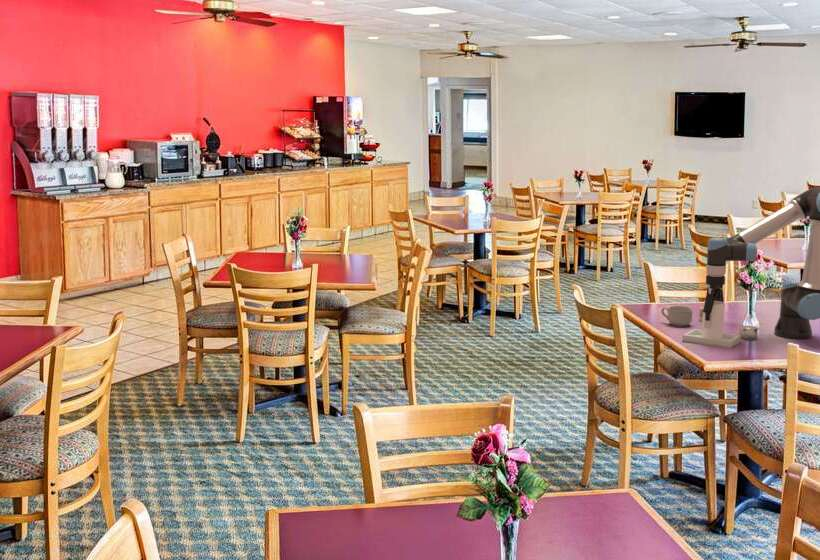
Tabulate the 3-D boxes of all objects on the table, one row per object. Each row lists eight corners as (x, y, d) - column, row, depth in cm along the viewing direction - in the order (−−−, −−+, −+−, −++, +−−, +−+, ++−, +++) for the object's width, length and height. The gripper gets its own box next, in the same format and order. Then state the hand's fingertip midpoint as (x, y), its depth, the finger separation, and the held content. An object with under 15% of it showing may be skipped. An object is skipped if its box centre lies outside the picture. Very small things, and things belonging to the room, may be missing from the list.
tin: (758, 338, 398) (759, 326, 397) (754, 341, 392) (755, 329, 391) (742, 336, 402) (742, 324, 401) (737, 339, 396) (738, 327, 395)
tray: (740, 341, 391) (740, 335, 391) (730, 348, 380) (731, 341, 379) (693, 335, 402) (693, 328, 402) (682, 341, 391) (682, 335, 391)
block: (710, 320, 433) (711, 307, 432) (710, 322, 428) (711, 309, 427) (699, 319, 434) (700, 306, 433) (699, 321, 430) (699, 308, 429)
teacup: (696, 325, 422) (697, 308, 420) (684, 329, 414) (685, 311, 413) (668, 320, 431) (669, 303, 430) (656, 324, 424) (657, 306, 422)
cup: (724, 342, 387) (726, 304, 384) (704, 342, 387) (706, 304, 384) (718, 337, 395) (720, 300, 392) (698, 337, 395) (701, 300, 392)
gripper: (715, 270, 398) (712, 318, 402) (696, 278, 378) (694, 329, 382) (733, 271, 394) (730, 320, 398) (715, 280, 374) (712, 331, 378)
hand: (712, 325), depth 390 cm, fingers open, 13 cm apart
